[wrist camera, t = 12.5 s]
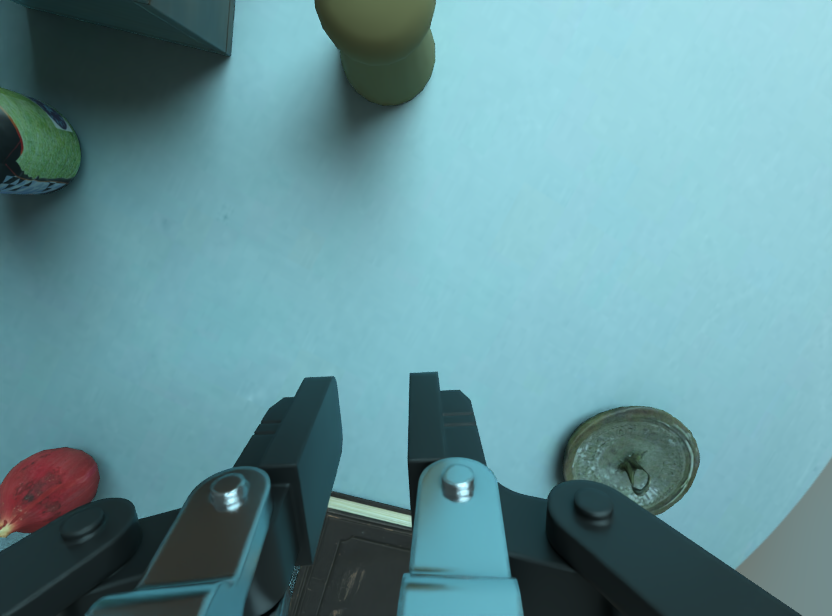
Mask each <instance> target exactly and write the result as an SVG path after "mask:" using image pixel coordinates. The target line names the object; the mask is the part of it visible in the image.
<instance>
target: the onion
mask: <svg viewBox="0 0 832 616" xmlns="http://www.w3.org/2000/svg"><path fill="white" fill-rule="evenodd" d="M99 480H100V476H99V471H98V466H97V463H96V462H95V461H94V459H93V458H92V457H91V456H90V455H88V454H87V453H85V452H84V451H82V450H77V449H73V448H68V447H63V448H56V449H49V450H43V451H41V452H38V453H36V454H34V455H32V456H30V457H28V458H26V459H25V460H23V461H21V462H20V463H19V464H17V465H16V466H15V467H13V468H12V470H11V471H10V472H9V473H8V474H7V476H6V477H5V479H4V480H3V482H2V484H1V485H0V537H7V536H8V535H9V534H11V533H13V532H16V531H17V532H22V533H33V532H35V531H37V530H38V529H40V528H42V527H43V526H45V525H47V524H48V523H50V522H52V521H54V520H55V519H57V518H59V517H60V516H62V515H64V514H66V513H67V512H69V511H71V510H73V509H75V508H77V507H80V506H82V505H85V504H87V503H90V502H91V501H92V499H93V498H94V497H95V495H96V492H97V488H98V484H99Z"/></svg>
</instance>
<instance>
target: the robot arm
mask: <svg viewBox="0 0 832 616" xmlns="http://www.w3.org/2000/svg"><path fill="white" fill-rule="evenodd" d="M254 433H255V434H254V435H253V436H252V437H251V439H250V440H249V442H248V444H247V445H246V447H245V448H244V450H243V452H242V453H241V455H240V457H239V458H238V460H237V461H236V463H235V465H234V466H233V468H230V469H226V470H224V471H221V472H218V473H216V474H214V475H212V476H210V477H208V478H207V479H205V480H204V481H202V482H201V483H200V484H199V485H198V486H196V487H195V489H194V490H193V491H192V492H191V493H190V495H189V496H188V498H187V500H186V502H185V503H184V505H183V507H182V508H179V509H176V510H172V511H169V512H165V513H161V514H157V515H154V516H150V517H146V518H142V519H138V517H137V513H136V510H135V507H134V505H133V503H132V502H130V501H129V500H127V499H123V498H106V499H101V500H97V501H93V502H90V503H87V504H85V505H82V506H80V507H77V508H75V509H73V510H71V511H69V512H67V513H66V514H64V515H62V516H60V517H59V518H57V519H55V520H54V521H52V522H50V523H48V524H47V525H45V526H43V527H42V528H40V529H38V530H37V531H35V532H33V533H32V534H30V535H28V536H26V537H25V538H23V539H21V540H20V541H18V542H16V543H15V544H13V545H11V546H9V547H8V548H6V549H4V550H3V551H1V552H0V616H288V613H289V608H290V602H291V594H290V588H289V583H290V579H291V576H292V573H293V570H294V566H308V565H313V561H314V557H315V553H316V549H317V546H318V542H319V538H320V534H321V530H322V526H323V522H324V519H325V515H326V511H327V507H328V503H329V499H330V496H331V492H332V488H333V484H334V480H335V476H336V473H337V469H338V465H339V461H340V457H341V453H342V440H343V436H342V424H341V415H340V406H339V398H338V389H337V382H336V379H335V377H334V376H330V377H308V378H304V380H303V382H302V383H301V385H300V387H299V389H298V391H297V393H296V395H295V397H285V398H283V399H281V400H280V401H279V402H277V403H276V404H275V405H273V406H272V407H271V408H269V410H268V411H267V413H266V414H265V416H264V418H263V419H262V421H261V424H259V426H258V427H257V429H256V431H255V432H254ZM408 474H409V490H410V506H411V521H412V546H411V555H410V565H409V572H408V573H404V574H403V577H402V581H401V587H400V594H399V602H398V610H397V616H801V615H800V614H799V613H797V612H796V611H794V610H793V609H792V608H790V607H789V606H787V605H786V604H784V603H783V602H781V601H780V600H778V599H777V598H775V597H774V596H772V595H771V594H769V593H768V592H766V591H765V590H764V589H762V588H761V587H759V586H758V585H756V584H755V583H753V582H752V581H750V580H748V579H747V578H746V577H744V576H743V575H741V574H740V573H739V572H737V571H736V570H734V569H733V568H731V567H730V566H728V565H727V564H725V563H724V562H722V561H721V560H719V559H718V558H716V557H715V556H713V555H712V554H711V553H709V552H708V551H706V550H705V549H703V548H702V547H700V546H699V545H697V544H696V543H694V542H693V541H691V540H690V539H688V538H687V537H686V536H684V535H683V534H681V533H680V532H678V531H677V530H675V529H674V528H672V527H671V526H669V525H668V524H666V523H665V522H663V521H662V520H661V519H659V518H658V517H656V516H655V515H653V514H652V513H650V512H649V511H647V510H646V509H644V508H643V507H641V506H640V505H638V504H637V503H635V502H634V501H633V500H631V499H630V498H628V497H627V496H625V495H624V494H622V493H621V492H619V491H617V490H616V489H614V488H612V487H610V486H608V485H605V484H602V483H599V482H595V481H589V480H570V481H566V482H563V483H560V484H558V485H557V486H555V487H554V488H553V489H552V490H551V491H550V493H549V495H548V499H542V498H537V497H533V496H528V495H524V494H520V493H517V492H514V491H512V490H510V489H508V488H506V487H504V486H502V485H501V484H500V483H498V482H497V479H496V477H495V475H494V473H493V472H492V471H491V470H490V469H489V468H488V467H487V465H486V461H485V457H484V453H483V449H482V445H481V441H480V437H479V433H478V429H477V426H476V421H475V416H474V412H473V408H472V404H471V400H470V399H469V398H468V397H467V396H466V395H464V394H463V393H462V392H461V391H460V390H446V391H440V387H439V378H438V372H422V373H410V383H409V425H408Z"/></svg>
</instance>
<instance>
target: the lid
mask: <svg viewBox="0 0 832 616" xmlns="http://www.w3.org/2000/svg"><path fill="white" fill-rule="evenodd" d="M699 463H700V454H699V450H698V447H697V443H696V440H695V439H694V437H693V436H692V433H691V431H690V430H688V428H687V427H685V426H684V425H683V424H682V423H681V422H680V421H679V420H678V419H676V418H674V417H673V416H672V415H671V414H669V413H667V412H665V411H663V410H659V409H655V408H652V407H644V406H629V407H619V408H615V409H612V410H609V411H605V412H602V413H600V414H597V415H596V416H594V417H592V418H590V419H588V420H587V421H586V422H584V423H582V424H581V425H580V426H579V427H578V428H577V429H576V430H575V431H574V433H573V434H572V435H571V437H570V439H569V440H568V444H567V447H566V451H565V455H564V459H563V476H564V480H565V482H566V481H570V480H589V481H595V482H599V483H602V484H605V485H608V486H610V487H612V488H614V489H616V490H617V491H619V492H621V493H622V494H624V495H625V496H627V497H628V498H630V499H631V500H633V501H634V502H635V503H637V504H638V505H640V506H641V507H643V508H644V509H646V510H647V511H649V512H650V513H652V514H653V515H658V514H661V513H663V512H665V511H666V510H667V509H669V508H670V507H672V506H673V505H674V504H675V503H677V502H678V501H679V500H680V499H682V497H683V496H684V494H686V493H687V491H688V490H689V488H690V487H691V485H692V483H693V481H694V478H695V476H696V473H697V469H698V467H699Z"/></svg>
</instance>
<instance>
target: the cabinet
mask: <svg viewBox="0 0 832 616" xmlns="http://www.w3.org/2000/svg"><path fill="white" fill-rule="evenodd" d="M10 1H13V2H16V3H17V4H20V5H22V6H24V7H28V8H32V9H36V10H40V11H44V12H48V13H53V14H57V15H61V16H65V17H69V18H73V19H77V20H82V21H86V22H90V23H94V24H98V25H102V26H106V27H111V28H115V29H119V30H123V31H127V32H131V33H135V34H140V35H144V36H148V37H152V38H156V39H160V40H164V41H169V42H173V43H177V44H181V45H185V46H189V47H193V48H198V49H202V50H206V51H210V52H214V53H218V54H222V55H227V56H231V45H232V33H233V20H234V7H235V0H10Z"/></svg>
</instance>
